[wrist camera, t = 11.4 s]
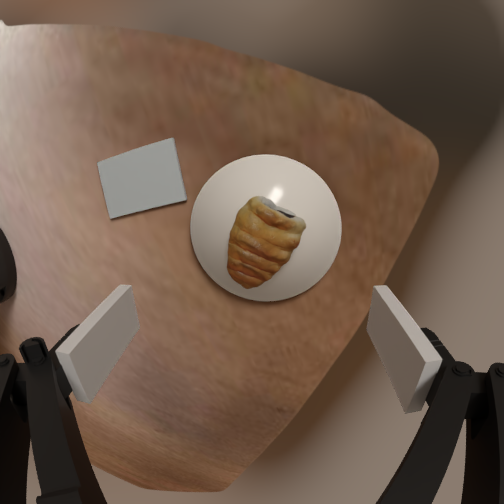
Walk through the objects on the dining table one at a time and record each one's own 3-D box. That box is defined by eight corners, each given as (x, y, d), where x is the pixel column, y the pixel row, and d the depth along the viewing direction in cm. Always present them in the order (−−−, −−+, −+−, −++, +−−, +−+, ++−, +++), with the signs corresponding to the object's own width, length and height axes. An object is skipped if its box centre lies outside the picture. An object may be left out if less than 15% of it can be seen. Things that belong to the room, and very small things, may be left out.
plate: (198, 295, 36) (196, 299, 34) (189, 157, 31) (186, 157, 30) (334, 296, 34) (335, 300, 33) (341, 155, 30) (343, 156, 28)
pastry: (269, 292, 34) (268, 308, 30) (213, 266, 33) (206, 280, 29) (309, 217, 31) (313, 225, 27) (249, 188, 30) (245, 192, 27)
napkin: (111, 218, 33) (110, 218, 33) (98, 162, 31) (97, 162, 31) (187, 199, 32) (186, 200, 32) (173, 137, 30) (172, 137, 30)
